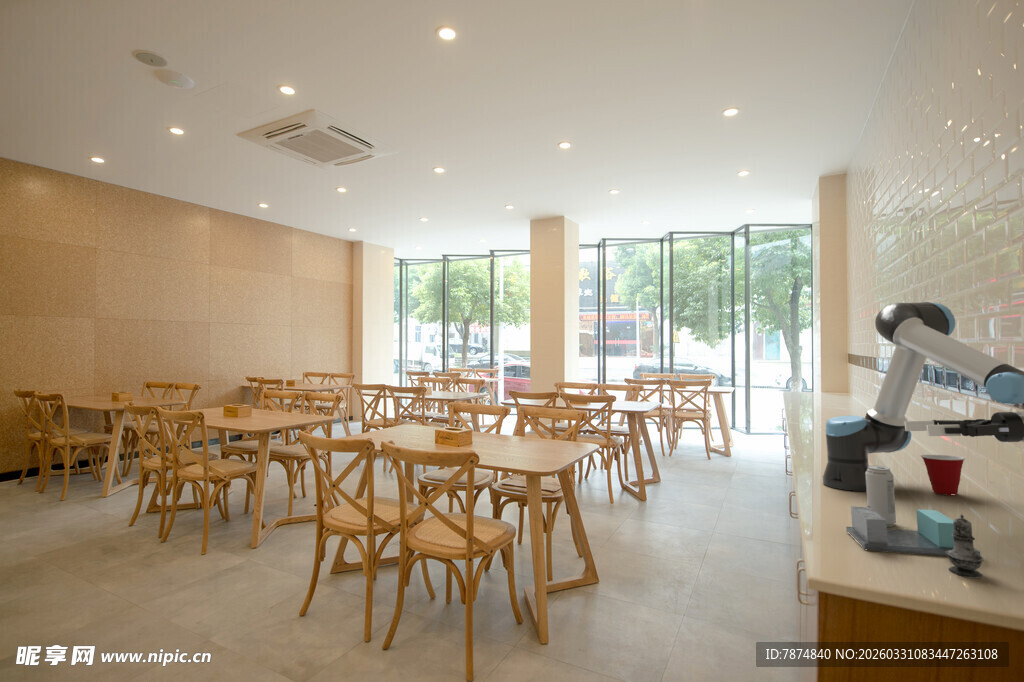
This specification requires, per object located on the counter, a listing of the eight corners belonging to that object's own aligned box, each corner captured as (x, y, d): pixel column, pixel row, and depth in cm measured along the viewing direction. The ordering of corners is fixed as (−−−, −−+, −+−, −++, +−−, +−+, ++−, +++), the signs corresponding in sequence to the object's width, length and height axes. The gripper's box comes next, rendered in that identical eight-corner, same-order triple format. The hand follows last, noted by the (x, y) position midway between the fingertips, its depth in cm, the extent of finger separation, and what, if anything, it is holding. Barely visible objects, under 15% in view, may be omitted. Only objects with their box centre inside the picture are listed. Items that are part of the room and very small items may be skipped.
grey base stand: (846, 532, 127) (845, 505, 128) (950, 538, 121) (948, 509, 121) (864, 550, 116) (863, 520, 116) (980, 558, 110) (978, 526, 110)
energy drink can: (871, 518, 137) (868, 464, 138) (898, 523, 133) (895, 467, 133) (865, 524, 133) (862, 467, 134) (893, 529, 129) (889, 471, 129)
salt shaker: (939, 567, 106) (935, 510, 106) (964, 565, 106) (960, 509, 107) (966, 580, 100) (962, 519, 100) (993, 577, 100) (989, 518, 101)
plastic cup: (956, 489, 162) (954, 452, 162) (975, 498, 152) (972, 459, 152) (916, 487, 165) (914, 451, 166) (931, 496, 155) (929, 458, 156)
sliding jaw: (917, 531, 122) (916, 509, 122) (937, 533, 121) (935, 510, 121) (939, 547, 113) (937, 522, 113) (960, 548, 111) (959, 523, 112)
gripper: (1054, 448, 113) (940, 448, 120) (990, 436, 137) (898, 437, 144) (1049, 414, 114) (936, 417, 121) (987, 409, 137) (895, 411, 144)
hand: (915, 428), depth 132 cm, fingers open, 13 cm apart
